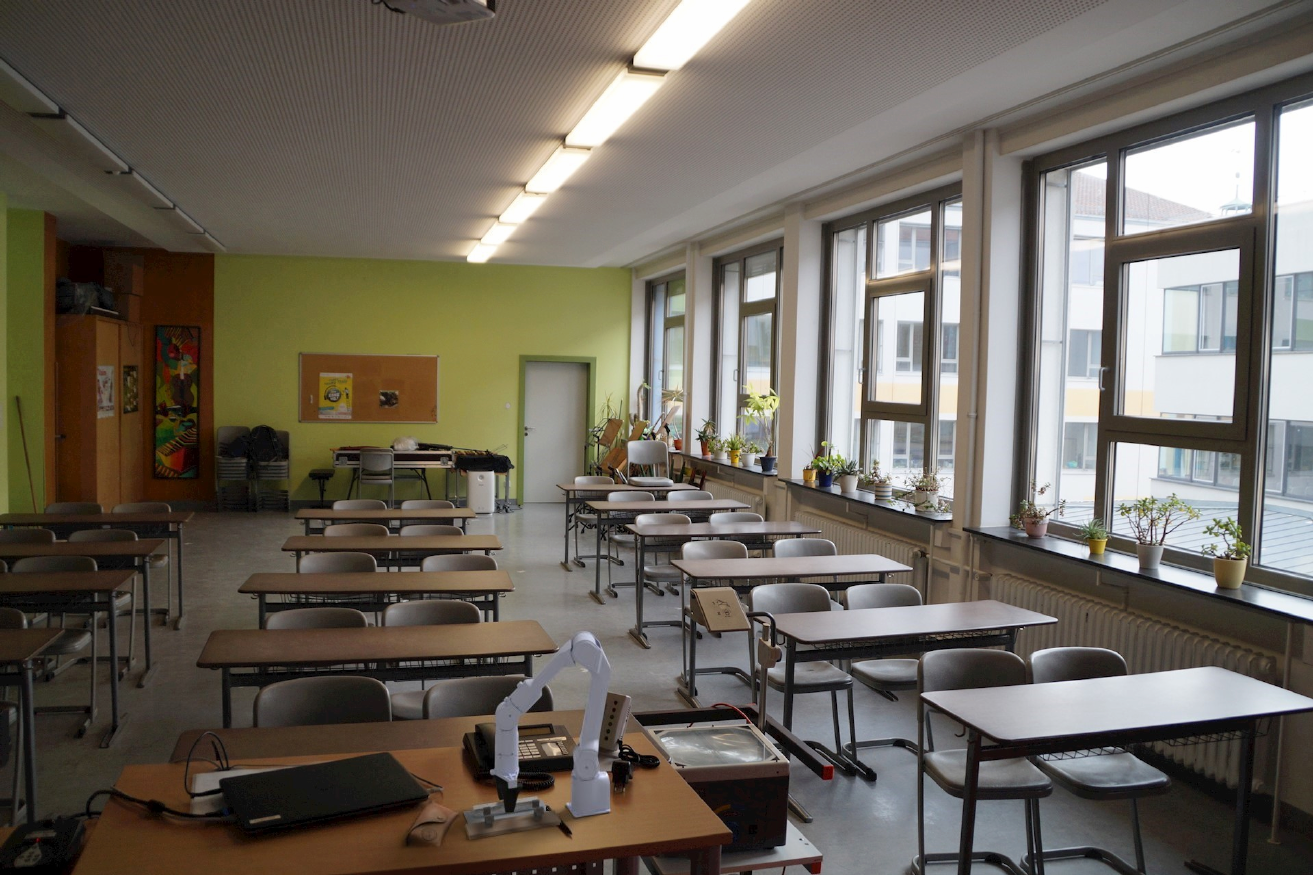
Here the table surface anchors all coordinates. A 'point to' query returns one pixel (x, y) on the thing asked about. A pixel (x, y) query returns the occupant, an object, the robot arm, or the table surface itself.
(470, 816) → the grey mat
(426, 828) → the sunglasses case
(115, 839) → the table surface
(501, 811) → the rail
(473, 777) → the table surface
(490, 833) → the hook rack
